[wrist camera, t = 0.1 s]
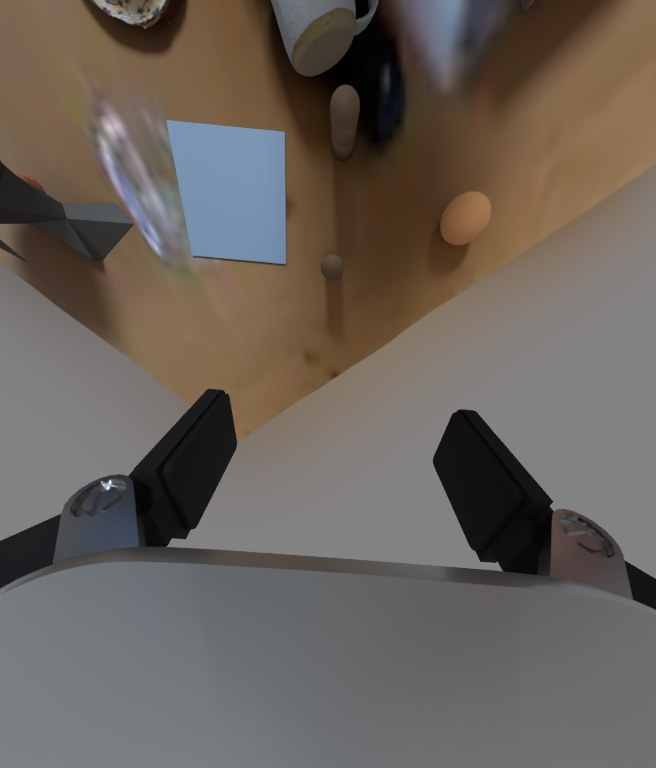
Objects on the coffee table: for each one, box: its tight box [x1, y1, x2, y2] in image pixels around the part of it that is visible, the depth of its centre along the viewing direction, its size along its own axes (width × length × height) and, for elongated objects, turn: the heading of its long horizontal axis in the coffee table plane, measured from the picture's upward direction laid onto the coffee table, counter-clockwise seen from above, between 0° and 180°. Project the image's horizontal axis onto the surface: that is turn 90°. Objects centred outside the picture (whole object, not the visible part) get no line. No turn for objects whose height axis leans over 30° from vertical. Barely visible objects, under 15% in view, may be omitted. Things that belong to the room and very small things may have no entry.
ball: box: [440, 191, 491, 245], centre depth 29 cm, size 6×6×6 cm
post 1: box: [321, 253, 343, 280], centre depth 31 cm, size 3×3×9 cm
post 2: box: [330, 85, 360, 161], centre depth 24 cm, size 3×3×9 cm
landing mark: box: [166, 120, 286, 264], centre depth 31 cm, size 14×14×1 cm
